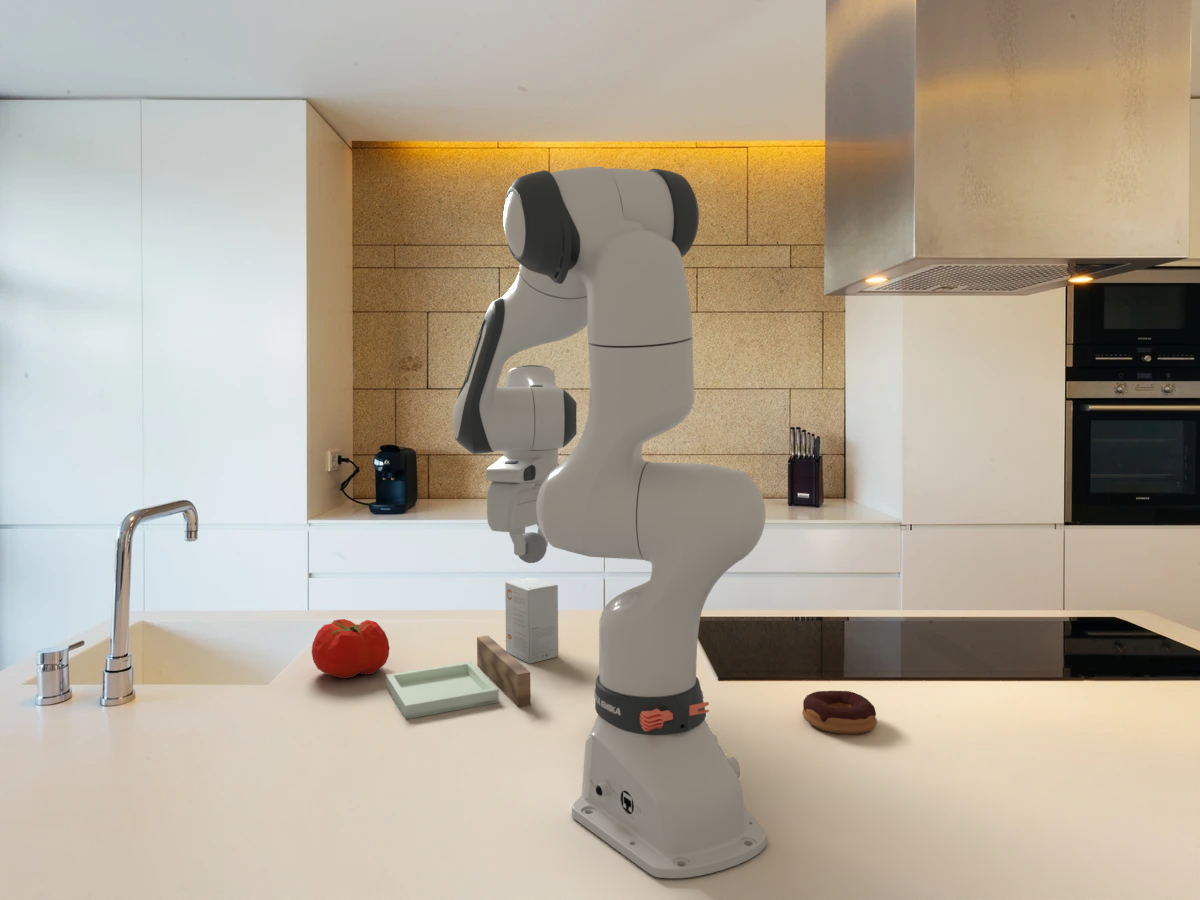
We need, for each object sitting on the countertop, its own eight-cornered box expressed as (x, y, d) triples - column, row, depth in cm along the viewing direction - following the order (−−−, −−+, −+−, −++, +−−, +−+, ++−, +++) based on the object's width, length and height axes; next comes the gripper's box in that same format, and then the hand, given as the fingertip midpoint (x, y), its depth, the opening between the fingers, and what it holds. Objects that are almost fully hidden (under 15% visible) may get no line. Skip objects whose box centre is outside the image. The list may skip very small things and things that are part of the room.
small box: (559, 657, 142) (558, 584, 141) (528, 664, 138) (528, 590, 137) (534, 645, 148) (534, 576, 147) (504, 652, 144) (504, 581, 143)
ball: (546, 565, 129) (546, 534, 128) (514, 566, 128) (514, 535, 128) (547, 559, 134) (547, 529, 133) (517, 559, 133) (516, 530, 133)
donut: (876, 715, 117) (876, 688, 116) (877, 743, 107) (878, 714, 107) (804, 707, 120) (805, 680, 119) (799, 733, 110) (800, 705, 110)
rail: (530, 704, 120) (530, 672, 120) (518, 707, 119) (517, 674, 119) (488, 663, 138) (488, 635, 138) (477, 665, 137) (476, 637, 137)
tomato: (294, 681, 130) (292, 630, 129) (342, 657, 142) (340, 610, 141) (360, 691, 126) (359, 638, 125) (404, 665, 138) (403, 616, 137)
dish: (498, 702, 121) (498, 689, 121) (405, 719, 115) (405, 705, 115) (471, 673, 134) (471, 661, 134) (386, 686, 128) (385, 674, 127)
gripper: (545, 461, 141) (546, 539, 142) (479, 471, 122) (480, 560, 123) (577, 462, 138) (577, 542, 139) (514, 473, 120) (515, 564, 120)
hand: (531, 551), depth 131 cm, fingers closed on ball, 5 cm apart
